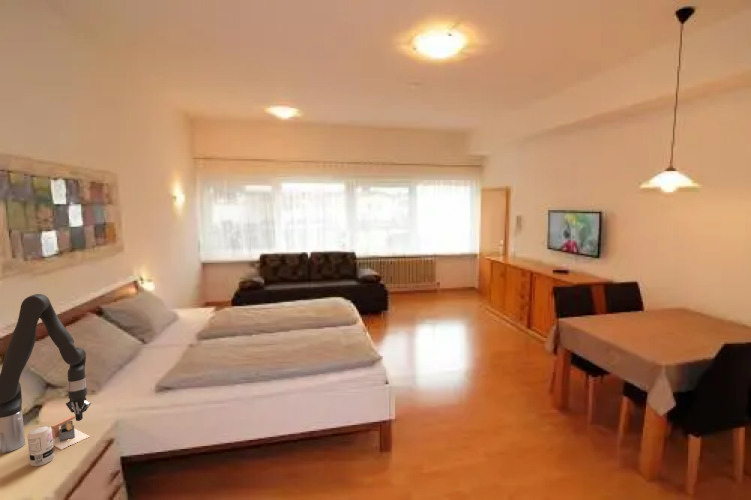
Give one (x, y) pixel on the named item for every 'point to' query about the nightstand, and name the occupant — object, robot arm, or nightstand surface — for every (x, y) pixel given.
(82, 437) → the board
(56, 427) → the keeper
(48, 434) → the supplement can
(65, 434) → the link
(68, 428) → the cylinder
